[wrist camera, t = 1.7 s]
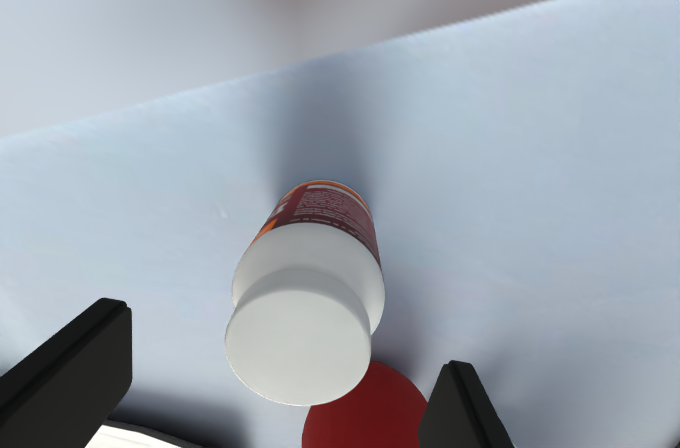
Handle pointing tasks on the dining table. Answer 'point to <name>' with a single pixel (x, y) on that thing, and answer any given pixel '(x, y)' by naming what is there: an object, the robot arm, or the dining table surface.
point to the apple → (369, 414)
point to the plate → (134, 437)
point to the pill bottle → (307, 298)
